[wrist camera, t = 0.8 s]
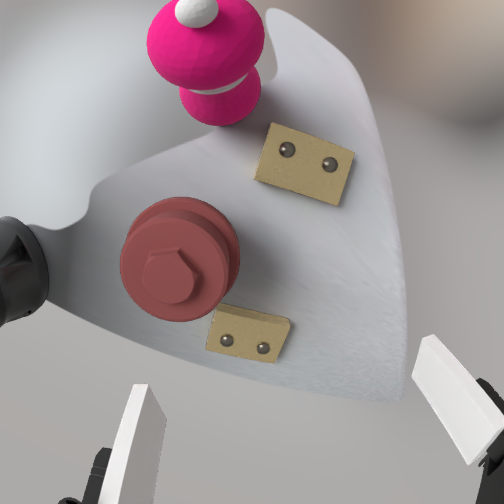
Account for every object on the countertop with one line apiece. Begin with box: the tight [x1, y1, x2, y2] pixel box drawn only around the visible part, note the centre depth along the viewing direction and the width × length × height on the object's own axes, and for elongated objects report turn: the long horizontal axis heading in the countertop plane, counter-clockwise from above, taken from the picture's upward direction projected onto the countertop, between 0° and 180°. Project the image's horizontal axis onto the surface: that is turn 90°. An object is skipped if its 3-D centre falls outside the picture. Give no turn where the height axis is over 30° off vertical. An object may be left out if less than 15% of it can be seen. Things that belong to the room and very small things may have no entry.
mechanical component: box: [120, 197, 240, 322], centre depth 25 cm, size 12×10×10 cm
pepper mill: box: [147, 0, 265, 126], centre depth 17 cm, size 7×7×20 cm
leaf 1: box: [206, 303, 290, 364], centre depth 34 cm, size 9×6×2 cm, turn 74°
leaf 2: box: [254, 122, 355, 206], centre depth 27 cm, size 9×6×2 cm, turn 74°
